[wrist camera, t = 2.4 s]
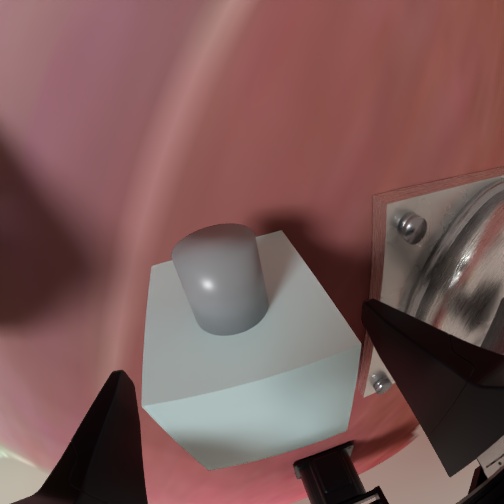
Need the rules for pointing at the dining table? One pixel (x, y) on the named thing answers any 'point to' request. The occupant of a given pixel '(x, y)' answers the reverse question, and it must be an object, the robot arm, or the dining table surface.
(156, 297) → the block with peg
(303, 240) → the dining table surface
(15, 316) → the dining table surface
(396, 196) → the metal mounting base
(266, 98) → the dining table surface
